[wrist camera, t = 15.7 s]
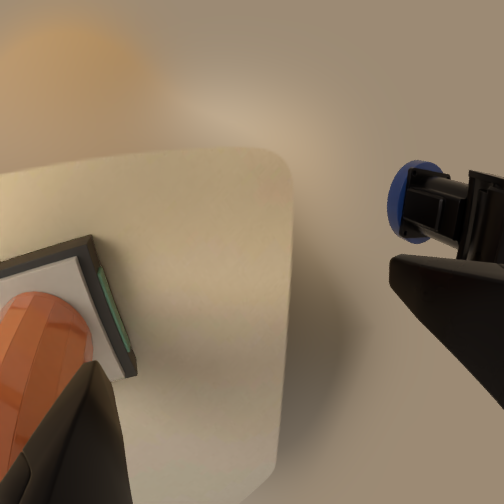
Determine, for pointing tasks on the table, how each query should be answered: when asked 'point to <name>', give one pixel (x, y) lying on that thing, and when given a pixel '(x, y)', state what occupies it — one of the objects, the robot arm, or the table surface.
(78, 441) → the robot arm
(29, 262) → the scale
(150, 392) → the table surface
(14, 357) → the cup
